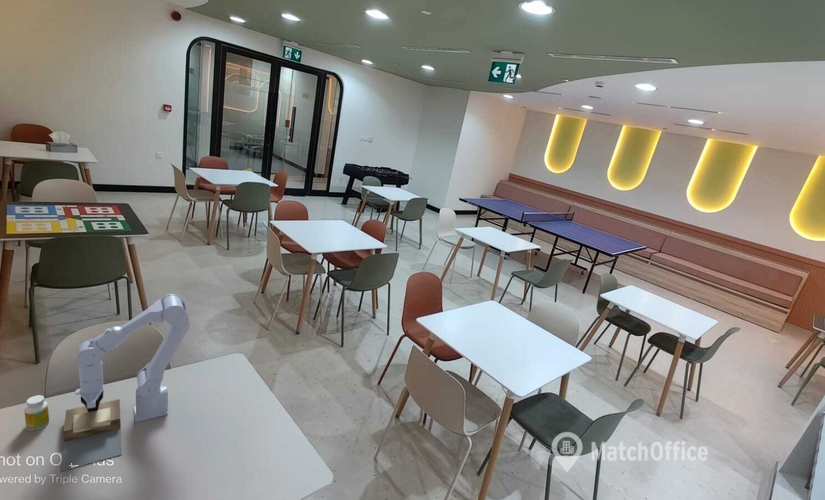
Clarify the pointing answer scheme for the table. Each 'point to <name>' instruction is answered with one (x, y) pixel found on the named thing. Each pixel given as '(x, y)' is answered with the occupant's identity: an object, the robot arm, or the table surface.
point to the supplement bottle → (36, 413)
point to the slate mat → (91, 449)
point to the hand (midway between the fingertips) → (93, 411)
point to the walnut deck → (113, 425)
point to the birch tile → (91, 420)
